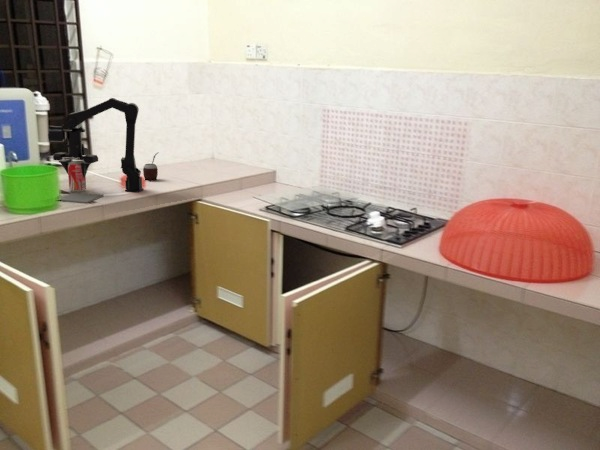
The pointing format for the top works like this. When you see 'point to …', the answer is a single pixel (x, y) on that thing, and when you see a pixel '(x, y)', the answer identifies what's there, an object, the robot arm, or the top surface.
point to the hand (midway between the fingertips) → (77, 176)
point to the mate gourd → (150, 171)
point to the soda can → (76, 177)
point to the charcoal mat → (80, 197)
